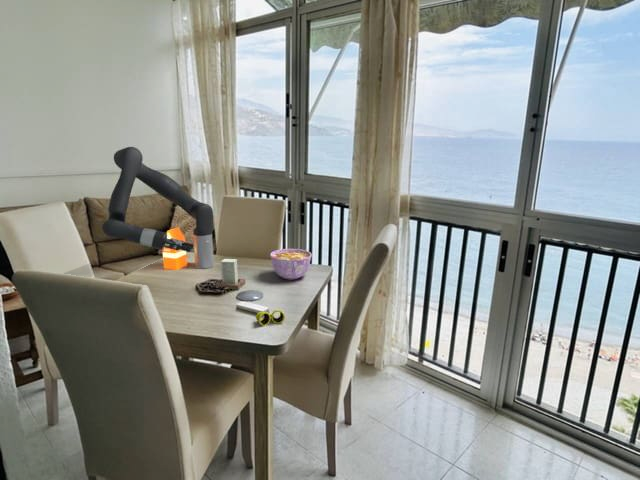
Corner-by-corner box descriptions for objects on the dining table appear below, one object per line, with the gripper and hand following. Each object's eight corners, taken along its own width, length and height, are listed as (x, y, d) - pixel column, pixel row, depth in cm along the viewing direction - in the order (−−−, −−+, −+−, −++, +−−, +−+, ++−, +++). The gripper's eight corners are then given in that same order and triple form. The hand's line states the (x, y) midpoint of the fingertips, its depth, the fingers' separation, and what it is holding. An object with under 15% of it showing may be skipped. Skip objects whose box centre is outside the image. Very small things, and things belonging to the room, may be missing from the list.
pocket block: (222, 281, 185) (222, 277, 184) (245, 283, 183) (245, 279, 182) (214, 288, 176) (214, 283, 176) (238, 290, 174) (237, 285, 174)
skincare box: (238, 284, 181) (237, 259, 178) (235, 287, 177) (234, 261, 174) (225, 283, 182) (224, 258, 179) (221, 287, 178) (220, 261, 175)
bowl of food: (306, 285, 181) (306, 261, 179) (264, 281, 185) (264, 258, 182) (315, 272, 200) (315, 250, 198) (277, 269, 204) (277, 247, 201)
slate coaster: (242, 290, 174) (242, 289, 174) (266, 292, 172) (266, 291, 172) (232, 300, 163) (232, 298, 163) (258, 302, 162) (258, 300, 162)
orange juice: (163, 268, 202) (160, 230, 197) (174, 263, 210) (172, 226, 205) (176, 269, 199) (174, 231, 195) (187, 264, 208) (184, 227, 203)
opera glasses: (281, 320, 148) (280, 306, 148) (285, 323, 144) (284, 309, 143) (255, 324, 145) (255, 310, 144) (259, 327, 140) (258, 313, 140)
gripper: (152, 232, 162) (192, 242, 165) (159, 228, 176) (196, 238, 179) (147, 249, 162) (187, 259, 166) (155, 245, 176) (191, 254, 180)
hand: (191, 248), depth 173 cm, fingers open, 8 cm apart
